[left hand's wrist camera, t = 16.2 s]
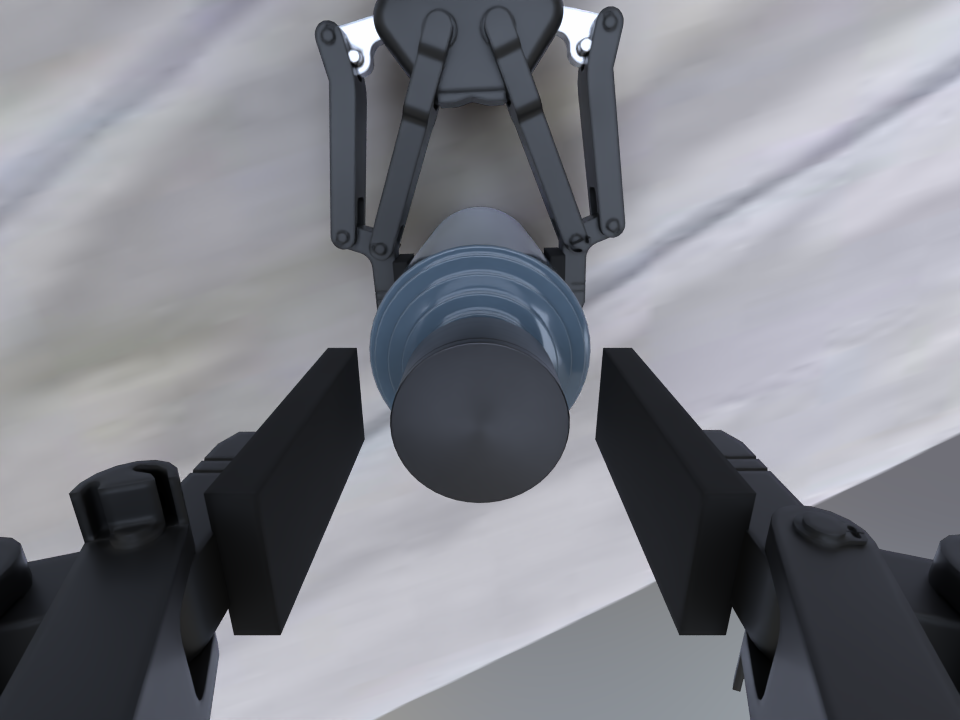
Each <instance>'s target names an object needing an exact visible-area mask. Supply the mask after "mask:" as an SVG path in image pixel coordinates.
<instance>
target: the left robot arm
mask: <svg viewBox="0 0 960 720" xmlns="http://www.w3.org/2000/svg"><path fill="white" fill-rule="evenodd" d="M364 440H365V438H364V426H363V415H362V403H361V392H360V380H359V368H358V357H357V348H328V349H327V350H326V351H325V352H324V353H323V355H322V356H321V357H320V358H319V359H318V360H317V362H316V363H315V364H314V365H313V366H312V367H311V369H310V370H309V371H308V372H307V373H306V374H305V376H304V377H303V378H302V379H301V380H300V381H299V383H298V384H297V385H296V386H295V387H294V388H293V390H292V391H291V392H290V393H289V394H288V395H287V397H286V398H285V399H284V400H283V401H282V402H281V404H280V405H279V406H278V407H277V408H276V409H275V411H274V412H273V413H272V414H271V415H270V416H269V418H268V419H267V420H266V421H265V422H264V423H263V425H262V426H261V427H260V428H259V429H258V430H257V432H238V433H236V434H235V435H233V436H231V437H229V438H228V439H226V440H224V441H222V442H221V443H219V444H218V445H217V446H216V447H215V448H214V449H213V450H212V451H211V452H210V453H209V454H208V455H207V456H206V457H205V458H204V459H205V460H204V461H201V462H200V463H199V464H198V465H197V466H196V467H195V468H194V470H193V473H190V474H189V475H188V476H187V477H186V478H185V479H184V480H183V481H182V482H180V478H179V474H178V470H177V467H175V466H174V465H172V464H171V463H170V462H164V461H158V460H148V461H136V462H132V463H127V464H123V465H118V466H115V467H112V468H110V469H107V470H104V471H102V472H99V473H97V474H95V475H93V476H91V477H90V478H88V479H86V480H84V481H83V482H81V483H80V484H78V485H77V486H76V487H75V488H74V489H73V490H72V491H71V492H70V493H69V495H70V498H71V502H72V505H73V508H74V511H75V514H76V517H77V520H78V523H79V526H80V530H81V533H82V536H83V539H84V542H85V544H84V545H83V547H82V549H81V551H80V552H77V553H72V554H67V555H62V556H57V557H52V558H47V559H42V560H37V561H32V562H27V559H26V557H25V554H24V551H23V549H22V546H21V544H20V543H19V542H17V541H16V540H14V539H13V538H7V537H0V720H210V714H211V708H212V701H213V694H214V687H215V680H216V673H217V666H218V660H219V649H218V642H217V637H216V633H215V631H216V629H217V627H218V626H219V624H220V622H221V620H222V619H223V617H224V615H225V613H226V612H227V610H228V609H229V614H230V618H231V623H232V628H233V632H234V635H281V633H282V630H283V628H284V626H285V623H286V621H287V619H288V617H289V614H290V612H291V610H292V607H293V605H294V603H295V600H296V598H297V596H298V593H299V591H300V589H301V586H302V584H303V582H304V579H305V577H306V575H307V572H308V570H309V568H310V565H311V563H312V561H313V558H314V556H315V554H316V551H317V549H318V547H319V544H320V542H321V540H322V537H323V535H324V533H325V530H326V528H327V526H328V523H329V521H330V519H331V516H332V514H333V512H334V509H335V507H336V505H337V502H338V500H339V498H340V495H341V493H342V491H343V489H344V486H345V484H346V482H347V479H348V477H349V475H350V472H351V470H352V468H353V465H354V463H355V461H356V458H357V456H358V454H359V451H360V449H361V447H362V444H363V442H364ZM595 440H596V442H597V444H598V447H599V449H600V451H601V454H602V456H603V458H604V461H605V463H606V465H607V468H608V470H609V472H610V475H611V477H612V479H613V482H614V484H615V486H616V489H617V491H618V493H619V495H620V498H621V500H622V502H623V505H624V507H625V509H626V512H627V514H628V516H629V519H630V521H631V523H632V526H633V528H634V530H635V533H636V535H637V537H638V540H639V542H640V544H641V547H642V549H643V551H644V554H645V556H646V558H647V561H648V563H649V565H650V568H651V570H652V572H653V575H654V577H655V579H656V582H657V584H658V586H659V588H660V591H661V593H662V596H663V598H664V600H665V603H666V605H667V607H668V610H669V612H670V614H671V617H672V619H673V621H674V624H675V626H676V628H677V630H678V633H679V635H726V632H727V628H728V623H729V618H730V614H731V609H732V607H733V609H734V611H735V612H736V614H737V616H738V618H739V619H740V621H741V623H742V624H743V626H744V628H745V633H744V638H743V642H742V646H741V651H740V655H739V659H738V663H737V668H736V672H735V676H734V683H733V690H736V691H741V686H742V682H743V679H745V686H746V693H747V699H748V706H749V713H750V720H960V535H949V536H947V537H946V538H944V539H943V540H941V541H940V543H939V546H938V549H937V552H936V554H935V557H934V559H933V560H931V559H926V558H921V557H916V556H911V555H906V554H901V553H895V552H891V551H886V550H881V549H879V548H878V546H877V544H876V543H875V541H874V540H873V539H872V538H871V537H870V536H869V534H868V533H867V532H866V531H865V530H863V529H862V528H861V527H859V526H858V525H856V524H855V523H853V522H852V521H850V520H849V519H846V518H844V517H842V516H839V515H837V514H835V513H833V512H831V511H827V510H823V509H819V508H815V507H812V506H804V505H803V504H802V503H801V502H800V501H799V500H798V499H797V498H796V497H795V496H794V495H793V494H792V493H791V492H790V491H789V490H788V489H787V488H786V487H785V486H784V485H783V484H782V483H781V482H780V481H779V480H778V479H777V478H776V476H775V475H774V474H773V473H772V472H771V471H768V470H767V467H766V466H765V465H764V464H763V463H762V462H761V461H760V460H759V459H756V456H755V455H754V454H753V453H752V452H751V451H750V450H749V449H748V448H747V446H746V445H745V444H744V443H743V442H741V441H739V440H738V439H736V438H734V437H732V436H731V435H729V434H727V433H725V432H723V431H722V430H702V429H701V428H700V427H699V426H698V425H697V423H696V422H695V421H694V420H693V419H692V418H691V416H690V415H689V414H688V413H687V412H686V411H685V409H684V408H683V407H682V406H681V405H680V404H679V402H678V401H677V400H676V399H675V398H674V397H673V395H672V394H671V393H670V392H669V391H668V390H667V388H666V387H665V386H664V385H663V384H662V383H661V381H660V380H659V379H658V378H657V377H656V376H655V374H654V373H653V372H652V371H651V370H650V369H649V367H648V366H647V365H646V364H645V363H644V362H643V360H642V359H641V358H640V357H639V356H638V355H637V353H636V352H635V351H634V350H633V349H632V348H603V357H602V368H601V380H600V392H599V403H598V415H597V426H596V438H595Z"/></svg>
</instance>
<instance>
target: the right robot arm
mask: <svg viewBox="0 0 960 720" xmlns="http://www.w3.org/2000/svg"><path fill="white" fill-rule="evenodd" d="M623 20H624V19H623V15H622V13H621V12H620V10H619V9H618V8H615V7H606V8H604V9H603V10H602V11H601V12H600V13H595V12H590V11H585V10H580V9H576V8H571V7H566V6H563V1H562V0H377V2H376V4H375V7H374V13H373V15H372V16H369V17H366V18H363V19H360V20H357V21H353V22H350V23H347V24H344V25H341V26H338V25H337V24H335V23H334V22H332V21H329V20H327V21H322V22H321V23H319V24H318V26H317V27H316V31H315V38H316V42H317V46H318V49H319V52H320V55H321V58H322V61H323V64H324V67H325V70H326V73H327V76H328V79H329V111H330V209H331V240H332V242H333V244H334V245H335V246H336V247H338V248H340V249H349V250H352V251H356V252H359V253H362V254H364V255H365V256H367V257H368V258H369V260H370V261H371V263H372V267H373V276H374V285H375V292H376V303H377V310H378V307H379V305H380V304H381V302H382V300H383V298H384V296H385V295H386V293H387V292H388V291H389V289H390V288H391V287H392V285H393V284H394V283H395V281H396V280H397V279H398V277H399V276H400V275H401V273H402V272H403V271H404V269H405V268H406V267H407V266H408V264H409V263H410V262H411V260H412V259H413V258H414V254H400V255H399V250H398V249H399V247H400V245H401V244H400V241H401V238H402V234H403V231H404V227H405V223H406V220H407V216H408V213H409V209H410V206H411V202H412V199H413V195H414V192H415V188H416V184H417V181H418V177H419V174H420V170H421V167H422V163H423V160H424V156H425V153H426V149H427V146H428V142H429V138H430V135H431V132H432V129H433V126H434V124H435V121H436V117H437V114H438V110H439V107H440V106H441V108H454V107H459V106H462V105H465V104H468V103H471V102H475V103H479V104H483V105H487V106H496V105H504V103H506V106H507V108H508V111H509V114H510V116H511V119H512V121H513V123H514V125H515V127H516V129H517V132H518V135H519V137H520V140H521V143H522V145H523V148H524V151H525V153H526V156H527V158H528V161H529V164H530V166H531V169H532V172H533V174H534V177H535V180H536V182H537V185H538V187H539V190H540V193H541V195H542V198H543V201H544V203H545V206H546V208H547V211H548V214H549V216H550V219H551V222H552V224H553V227H554V230H555V232H556V235H557V237H558V240H559V248H544V255H545V256H546V258H547V259H548V260H549V261H550V263H551V264H552V265H553V267H554V268H555V269H556V271H557V272H558V273H559V275H560V276H561V277H562V278H563V280H564V281H565V282H566V284H567V285H568V286H569V288H570V289H571V291H572V292H573V294H574V295H575V296H576V298H577V300H578V302H579V304H580V306H581V308H582V307H583V305H584V303H585V273H586V254H587V252H588V250H589V248H590V247H591V246H592V245H593V244H595V243H597V242H600V241H602V240H605V239H607V238H610V237H611V238H614V237H617V236H619V235H620V234H621V233H622V232H623V230H624V228H625V215H624V202H623V189H622V176H621V163H620V150H619V137H618V124H617V111H616V98H615V85H614V72H613V67H614V62H615V58H616V54H617V49H618V45H619V41H620V37H621V32H622V28H623ZM555 36H558V37H560V38H561V39H563V40H564V42H565V43H566V47H567V57H568V60H569V62H570V63H571V64H572V65H573V66H576V67H579V70H578V96H579V107H580V117H581V127H582V137H583V147H584V157H585V167H586V177H587V188H588V198H589V208H590V216H587V217H585V218H581V215H580V213H579V210H578V207H577V204H576V201H575V199H574V196H573V193H572V190H571V188H570V185H569V182H568V179H567V176H566V174H565V171H564V168H563V165H562V163H561V160H560V157H559V154H558V151H557V149H556V146H555V143H554V140H553V137H552V135H551V132H550V129H549V126H548V124H547V121H546V118H545V115H544V112H543V109H542V103H541V100H540V97H539V94H538V91H537V88H536V85H535V83H534V80H533V77H532V73H533V71H534V69H535V68H536V66H537V64H538V63H539V61H540V60H541V58H542V56H543V55H544V53H545V51H546V50H547V48H548V47H549V45H550V43H551V42H552V40H553V38H554V37H555ZM383 44H385V46H386V47H387V48H388V50H389V51H390V52H391V54H392V55H393V56H394V58H395V59H396V60H397V62H398V63H399V64H400V66H401V67H402V69H403V70H404V71H405V73H406V74H407V75H408V77H409V78H410V83H409V87H408V90H407V94H406V98H405V102H404V106H403V115H402V120H401V124H400V128H399V132H398V136H397V139H396V143H395V147H394V151H393V155H392V159H391V162H390V166H389V170H388V174H387V178H386V181H385V185H384V189H383V193H382V197H381V200H380V204H379V208H378V212H377V216H376V219H375V223H374V227H373V228H372V227H369V226H366V225H365V203H366V121H367V97H366V87H365V81H364V77H367V76H369V75H370V74H371V73H372V71H373V69H374V53H375V51H376V49H377V48H378V47H379V46H381V45H383Z"/></svg>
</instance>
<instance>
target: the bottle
mask: <svg viewBox="0 0 960 720" xmlns="http://www.w3.org/2000/svg"><path fill="white" fill-rule="evenodd" d="M471 317H487V318H495V319H500V320H504V321H507V322H509V323H512V324H514V325H516V326H518V327H520V328H522V329H524V330H525V331H527V332H528V333H529V334H531V335H532V336H533V337H534V338H535V339H536V340H537V341H538V342H539V343H540V344H541V345H542V346H543V348H544V349H545V350H546V352H547V354H548V355H549V357H550V359H551V361H552V363H553V366H554V368H555V371H556V374H557V376H558V379H559V382H560V384H561V387H562V390H563V392H564V395H565V398H566V401H567V405H568V409H569V410H570V408H571V407H572V405H573V404H574V403H575V401H576V399H577V397H578V396H579V394H580V392H581V390H582V387H583V385H584V382H585V379H586V376H587V372H588V368H589V361H590V336H589V330H588V325H587V321H586V318H585V315H584V312H583V310H582V308H581V306H580V304H579V302H578V300H577V298H576V296H575V295H574V294H573V292H572V291H571V289H570V288H569V286H568V285H567V284H566V282H565V281H564V280H563V278H562V277H561V276H560V275H559V273H558V272H557V271H556V269H555V268H554V267H553V265H552V264H551V263H550V261H549V260H548V259H547V258H546V256H545V255H544V254H543V252H542V251H541V250H540V248H539V247H538V246H537V245H536V243H535V242H534V241H533V239H532V238H531V237H530V235H529V234H528V233H527V231H526V230H525V229H524V228H523V226H522V225H521V224H520V223H519V222H518V221H517V220H515V219H514V218H513V217H511V216H510V215H508V214H507V213H505V212H502V211H500V210H497V209H494V208H489V207H471V208H466V209H462V210H460V211H458V212H455V213H453V214H452V215H450V216H448V217H447V218H446V219H445V220H443V221H442V222H441V223H440V224H439V225H438V226H437V228H436V229H435V230H434V232H433V233H432V234H431V235H430V237H429V238H428V239H427V241H426V242H425V243H424V245H423V246H422V247H421V249H420V250H419V251H418V252H417V254H416V255H415V256H414V258H413V259H412V260H411V262H410V263H409V264H408V266H407V267H406V268H405V269H404V271H403V272H402V273H401V275H400V276H399V277H398V279H397V280H396V281H395V283H394V284H393V285H392V287H391V288H390V289H389V291H388V292H387V293H386V295H385V296H384V298H383V300H382V302H381V304H380V305H379V307H378V310H377V313H376V315H375V318H374V321H373V325H372V330H371V335H370V347H369V348H370V362H371V367H372V373H373V376H374V379H375V382H376V385H377V388H378V390H379V392H380V394H381V396H382V398H383V400H384V401H385V402H386V404H387V405H388V407H389V408H390V410H391V409H392V404H393V401H394V398H395V395H396V392H397V390H398V387H399V384H400V382H401V379H402V376H403V374H404V371H405V368H406V366H407V363H408V361H409V359H410V357H411V355H412V353H413V352H414V350H415V349H416V348H417V346H418V345H419V344H420V343H421V342H422V341H423V340H424V339H425V338H426V337H427V336H428V335H429V334H431V333H432V332H433V331H435V330H436V329H438V328H440V327H441V326H444V325H446V324H448V323H450V322H453V321H457V320H460V319H465V318H471Z"/></svg>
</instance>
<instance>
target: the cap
mask: <svg viewBox="0 0 960 720" xmlns="http://www.w3.org/2000/svg"><path fill="white" fill-rule="evenodd" d="M390 428H391V436H392V440H393V443H394V447H395V449H396V451H397V454H398V456H399V458H400V459H401V461H402V463H403V464H404V466H405V467H406V468H407V470H408V471H409V472H410V473H411V474H412V475H413V476H414V477H415V478H416V479H417V480H418V481H419V482H421V483H422V484H423V485H425V486H426V487H427V488H429V489H431V490H432V491H434V492H436V493H438V494H440V495H443V496H445V497H448V498H451V499H455V500H459V501H464V502H473V503H488V502H496V501H501V500H505V499H509V498H512V497H515V496H517V495H520V494H522V493H524V492H526V491H527V490H529V489H531V488H533V487H534V486H535V485H537V484H538V483H540V482H541V481H542V480H543V479H544V478H545V477H546V476H547V475H548V474H549V473H550V472H551V471H552V469H553V468H554V467H555V466H556V464H557V462H558V461H559V459H560V458H561V456H562V453H563V451H564V449H565V446H566V443H567V440H568V435H569V428H570V417H569V409H568V405H567V401H566V398H565V395H564V392H563V390H562V387H561V384H560V382H559V379H558V376H557V374H556V371H555V368H554V366H553V363H552V361H551V359H550V357H549V355H548V354H547V352H546V350H545V349H544V348H543V346H542V345H541V344H540V343H539V342H538V341H537V340H536V339H535V338H534V337H533V336H532V335H531V334H529V333H528V332H527V331H525V330H524V329H522V328H520V327H518V326H516V325H514V324H512V323H509V322H507V321H504V320H500V319H495V318H487V317H471V318H465V319H460V320H457V321H453V322H450V323H448V324H446V325H444V326H441V327H440V328H438V329H436V330H435V331H433V332H432V333H431V334H429V335H428V336H427V337H426V338H425V339H424V340H423V341H422V342H421V343H420V344H419V345H418V346H417V348H416V349H415V350H414V352H413V353H412V355H411V357H410V359H409V361H408V363H407V366H406V368H405V371H404V374H403V376H402V379H401V382H400V384H399V387H398V390H397V392H396V395H395V398H394V401H393V404H392V409H391V415H390Z"/></svg>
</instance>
